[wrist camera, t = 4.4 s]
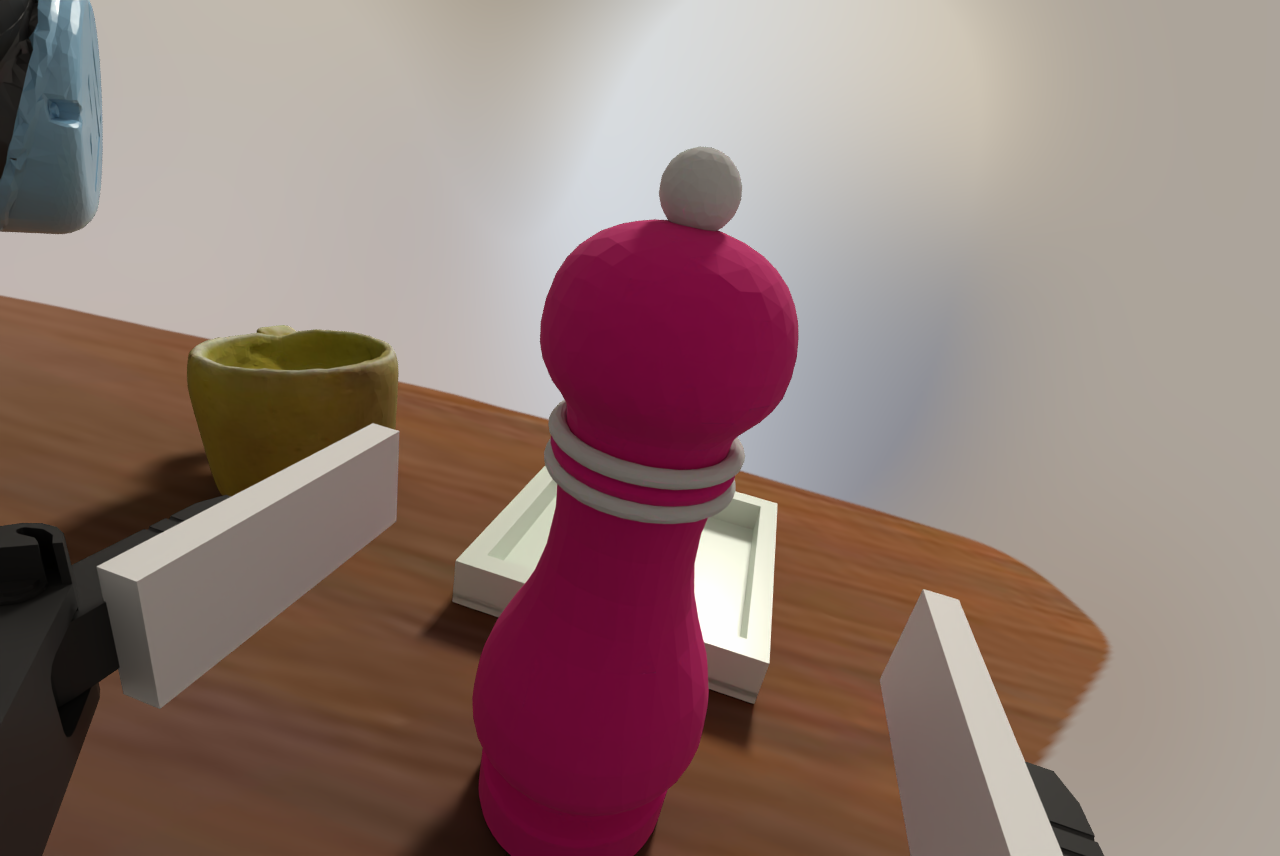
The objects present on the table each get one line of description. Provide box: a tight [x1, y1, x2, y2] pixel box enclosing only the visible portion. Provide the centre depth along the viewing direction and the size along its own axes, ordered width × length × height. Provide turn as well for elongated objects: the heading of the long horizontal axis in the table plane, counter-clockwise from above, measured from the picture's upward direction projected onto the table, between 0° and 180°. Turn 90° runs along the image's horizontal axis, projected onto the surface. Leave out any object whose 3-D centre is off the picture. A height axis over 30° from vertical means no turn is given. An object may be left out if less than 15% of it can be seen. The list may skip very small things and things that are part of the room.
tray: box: [452, 466, 777, 704], centre depth 32 cm, size 14×14×2 cm
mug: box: [187, 325, 398, 497], centre depth 33 cm, size 12×10×10 cm
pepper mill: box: [472, 147, 798, 856], centre depth 16 cm, size 7×7×20 cm
